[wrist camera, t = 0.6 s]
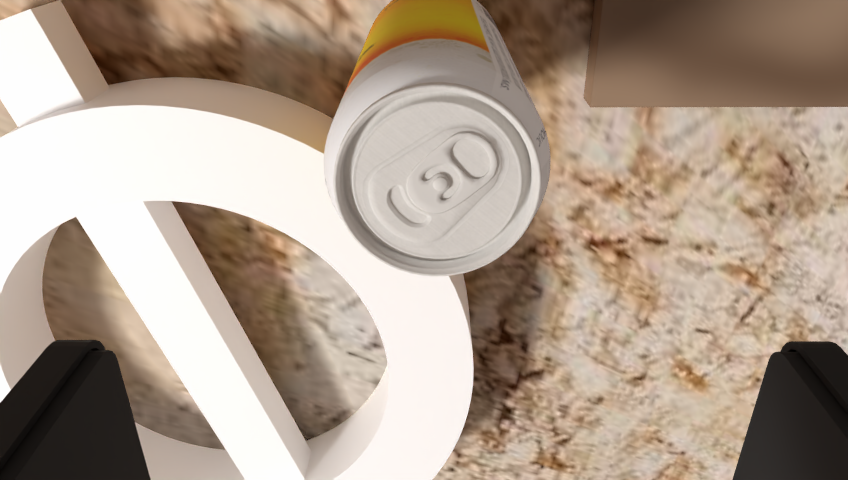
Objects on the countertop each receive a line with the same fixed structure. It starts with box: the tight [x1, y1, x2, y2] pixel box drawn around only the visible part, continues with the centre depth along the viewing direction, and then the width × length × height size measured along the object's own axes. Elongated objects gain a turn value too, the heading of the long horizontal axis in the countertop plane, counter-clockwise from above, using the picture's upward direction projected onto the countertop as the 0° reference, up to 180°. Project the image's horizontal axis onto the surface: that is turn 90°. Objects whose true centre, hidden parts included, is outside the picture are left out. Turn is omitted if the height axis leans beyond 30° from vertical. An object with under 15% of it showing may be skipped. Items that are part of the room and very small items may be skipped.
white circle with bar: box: [0, 0, 474, 480], centre depth 35 cm, size 28×28×5 cm
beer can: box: [324, 0, 550, 276], centre depth 23 cm, size 6×6×15 cm
